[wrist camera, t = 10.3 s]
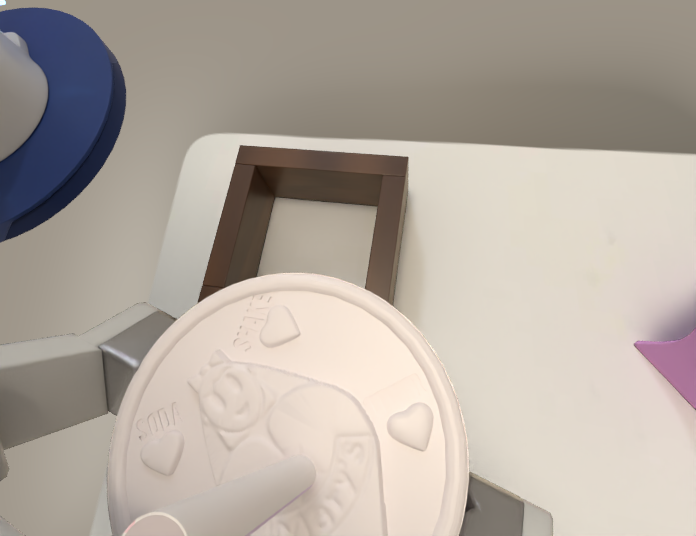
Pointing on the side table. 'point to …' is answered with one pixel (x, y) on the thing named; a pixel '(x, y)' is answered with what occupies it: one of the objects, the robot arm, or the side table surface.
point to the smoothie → (289, 421)
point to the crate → (311, 184)
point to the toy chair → (675, 362)
